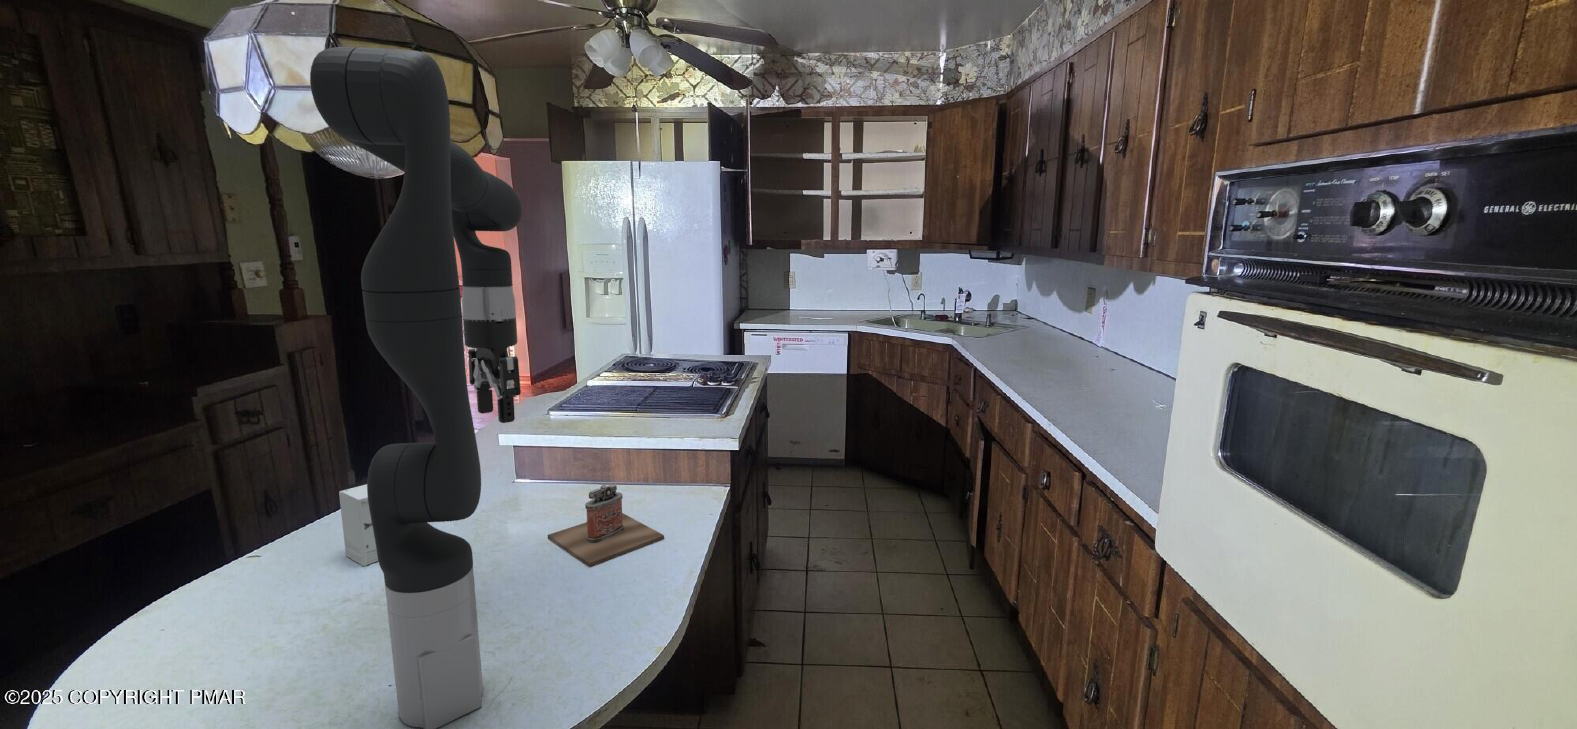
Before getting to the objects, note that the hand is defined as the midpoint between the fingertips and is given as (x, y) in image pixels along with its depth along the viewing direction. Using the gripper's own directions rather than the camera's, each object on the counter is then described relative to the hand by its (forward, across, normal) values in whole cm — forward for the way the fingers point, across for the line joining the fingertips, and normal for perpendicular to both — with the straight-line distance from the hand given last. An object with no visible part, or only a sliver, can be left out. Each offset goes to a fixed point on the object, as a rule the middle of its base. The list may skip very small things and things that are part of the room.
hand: (496, 417), depth 101 cm
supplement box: (+29, -28, -12) cm, 42 cm away
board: (+29, -5, +21) cm, 36 cm away
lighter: (+28, -5, +21) cm, 35 cm away
